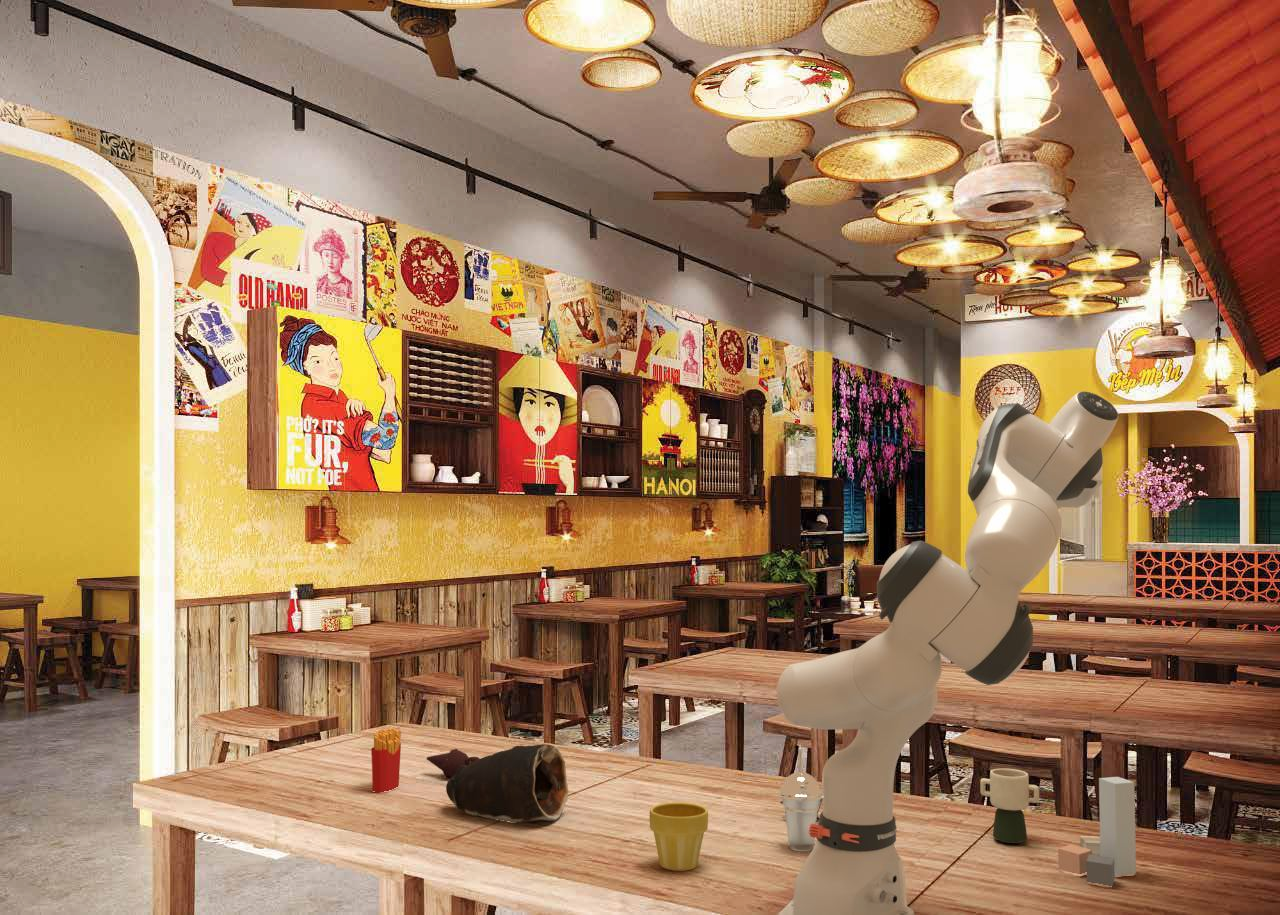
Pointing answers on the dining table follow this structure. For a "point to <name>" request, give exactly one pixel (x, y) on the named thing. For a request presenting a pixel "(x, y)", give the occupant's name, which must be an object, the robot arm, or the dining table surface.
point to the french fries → (386, 760)
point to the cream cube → (1091, 844)
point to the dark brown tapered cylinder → (513, 785)
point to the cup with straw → (800, 806)
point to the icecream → (451, 761)
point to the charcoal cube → (1100, 870)
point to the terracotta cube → (1073, 858)
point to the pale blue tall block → (1118, 823)
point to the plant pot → (678, 833)
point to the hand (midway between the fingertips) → (1015, 514)
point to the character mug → (1009, 802)
